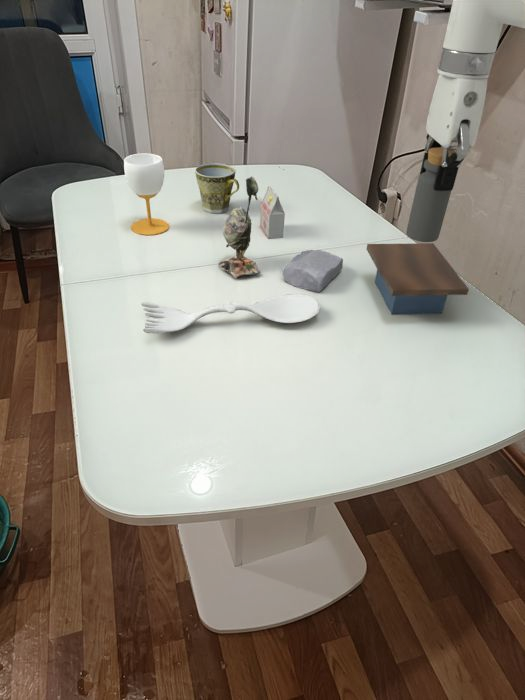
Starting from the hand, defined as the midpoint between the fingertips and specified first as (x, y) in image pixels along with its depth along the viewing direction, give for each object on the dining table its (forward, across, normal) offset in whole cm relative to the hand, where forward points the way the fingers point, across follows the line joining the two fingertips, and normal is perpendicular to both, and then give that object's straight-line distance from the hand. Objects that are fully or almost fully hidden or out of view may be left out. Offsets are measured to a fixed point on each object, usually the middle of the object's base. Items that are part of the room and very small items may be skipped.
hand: (435, 181), depth 87 cm
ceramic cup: (+23, +43, +36) cm, 61 cm away
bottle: (+10, 0, 0) cm, 10 cm away
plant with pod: (+23, +13, +33) cm, 42 cm away
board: (+17, 0, 0) cm, 17 cm away
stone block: (+24, +9, +18) cm, 31 cm away
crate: (+23, 0, 0) cm, 23 cm away
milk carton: (+24, +30, +24) cm, 45 cm away
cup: (+23, +33, +53) cm, 67 cm away
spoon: (+23, -7, +35) cm, 43 cm away
